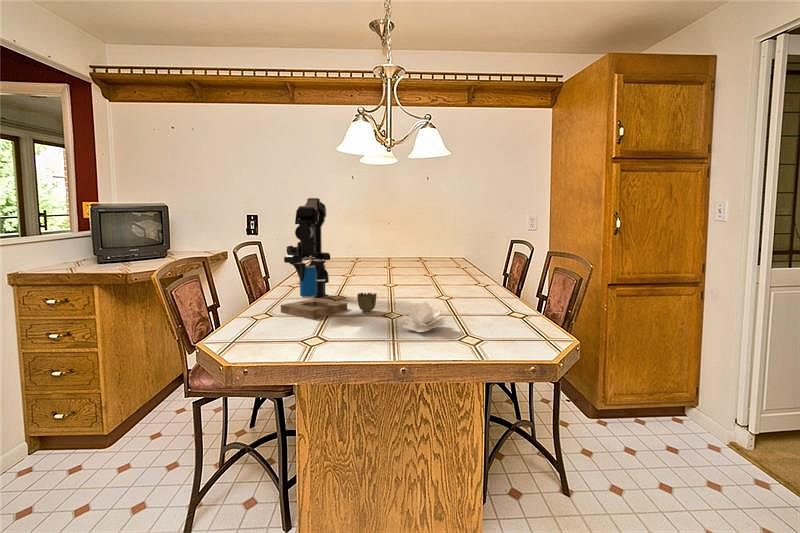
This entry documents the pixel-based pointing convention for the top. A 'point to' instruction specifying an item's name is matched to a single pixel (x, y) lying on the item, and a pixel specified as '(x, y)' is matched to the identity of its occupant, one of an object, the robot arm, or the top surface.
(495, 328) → the top surface
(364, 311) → the cup
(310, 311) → the can holder
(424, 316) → the lotus flower
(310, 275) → the beverage can
